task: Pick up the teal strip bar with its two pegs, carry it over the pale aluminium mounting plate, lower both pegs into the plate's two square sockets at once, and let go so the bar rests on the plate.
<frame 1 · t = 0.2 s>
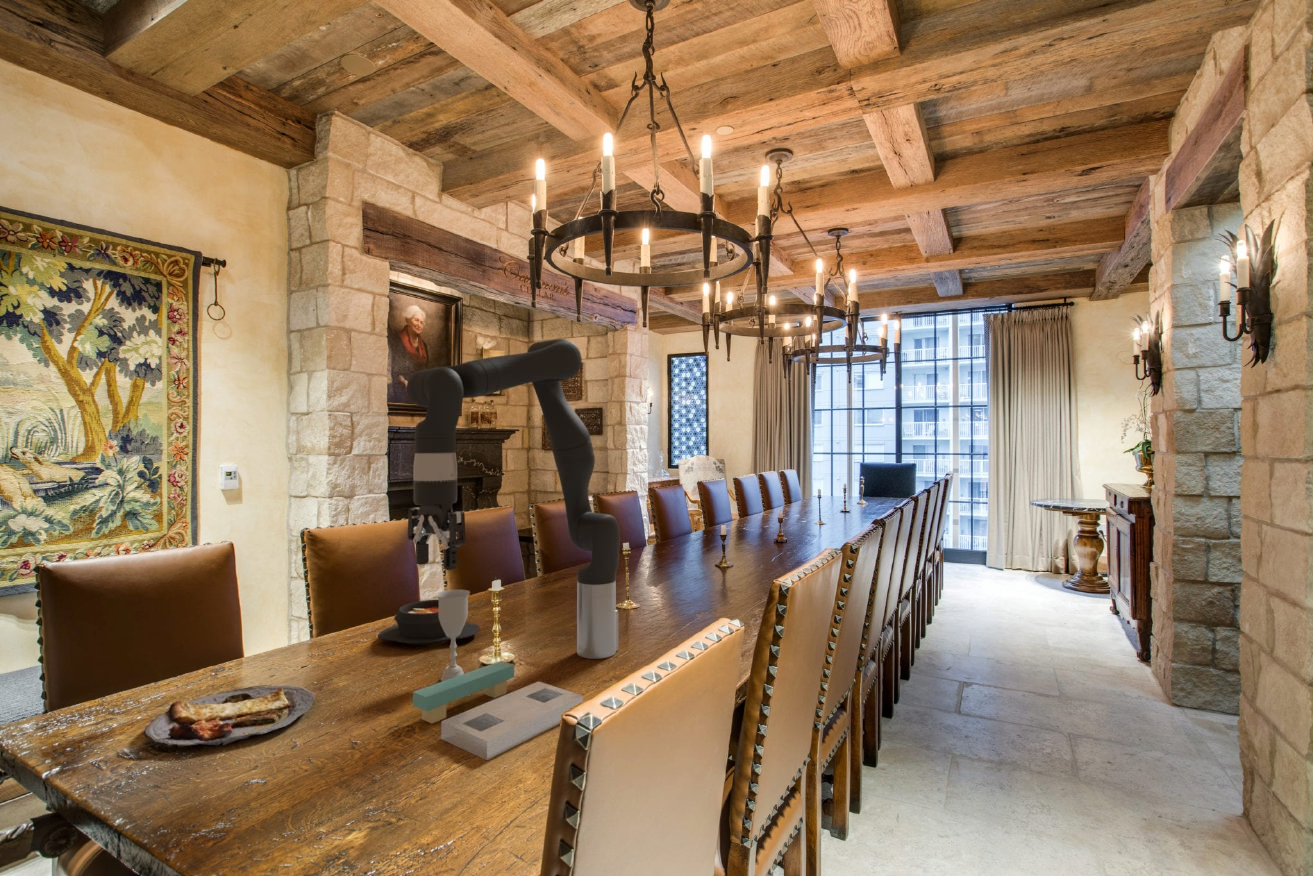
hand: (435, 566, 113), 28 cm above the table, tool pointing down, fingers open, 8 cm apart
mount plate: (515, 724, 110), on the table
casserole: (429, 639, 160), on the table
chalice: (453, 679, 133), on the table
strip bar: (466, 705, 119), on the table
food plate: (234, 724, 112), on the table
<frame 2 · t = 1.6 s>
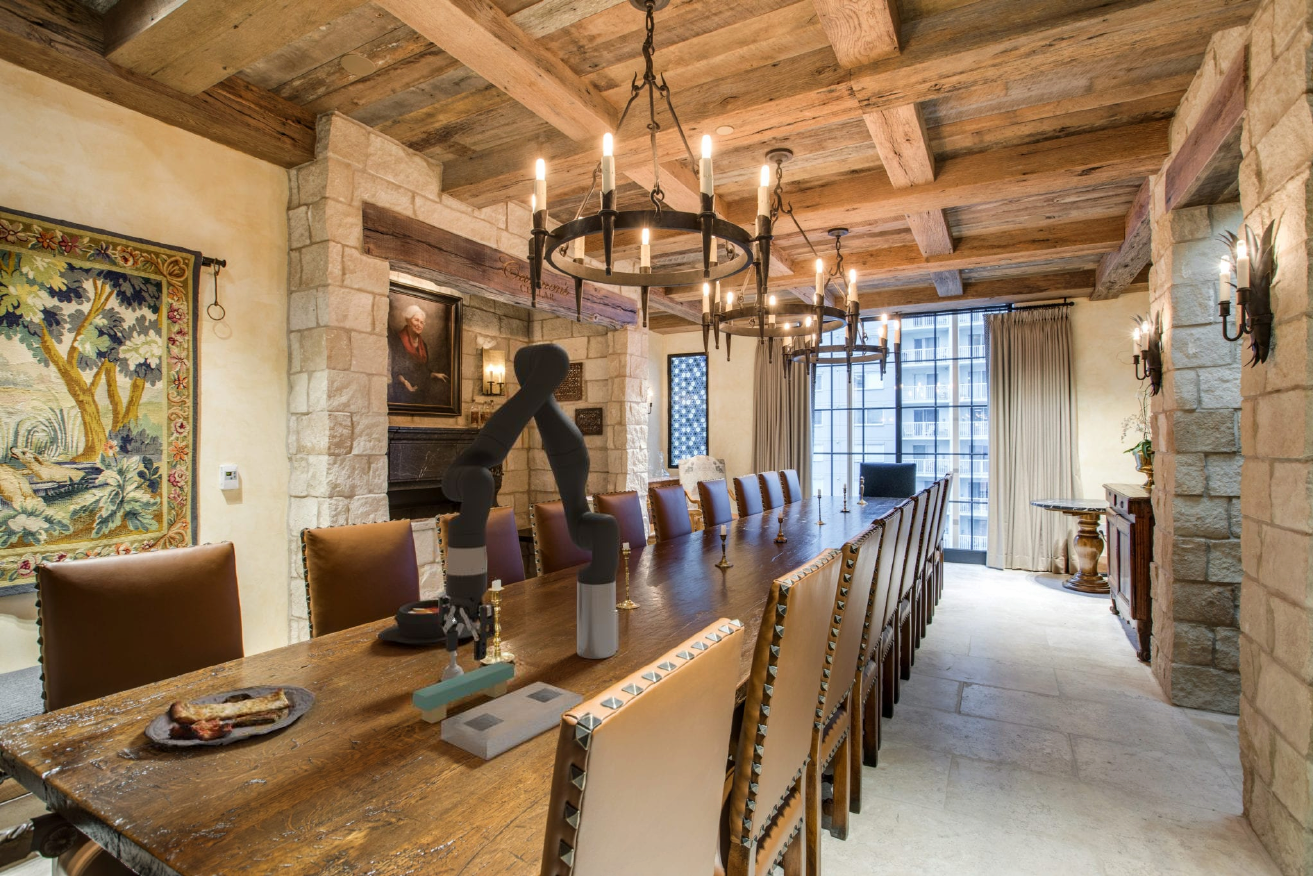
hand: (465, 655, 119), 10 cm above the table, tool pointing down, fingers open, 8 cm apart
nothing on the table moved.
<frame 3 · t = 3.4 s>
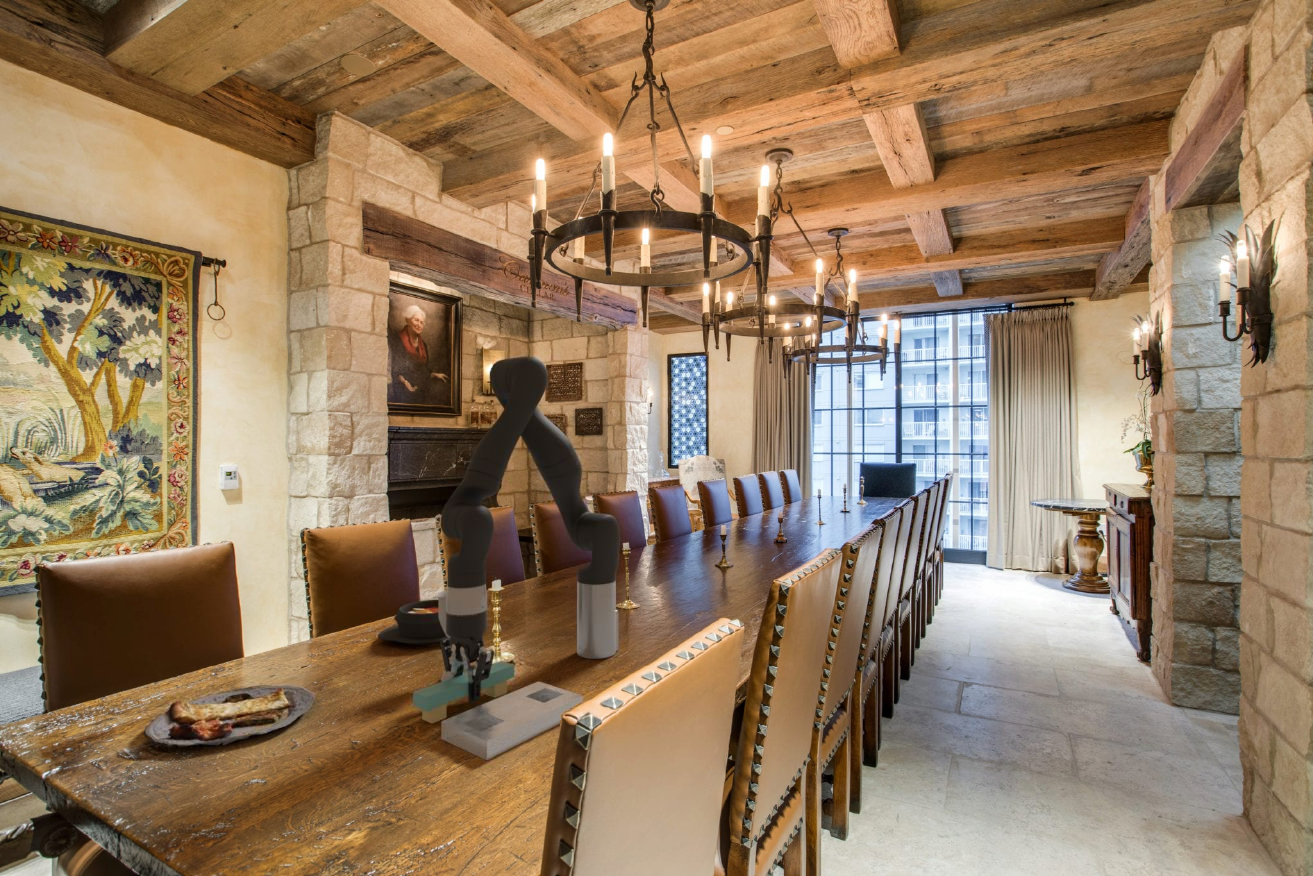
hand: (466, 697, 119), 1 cm above the table, tool pointing down, fingers closed on strip bar, 4 cm apart
strip bar: (466, 705, 119), on the table, touching gripper
everything else where it was.
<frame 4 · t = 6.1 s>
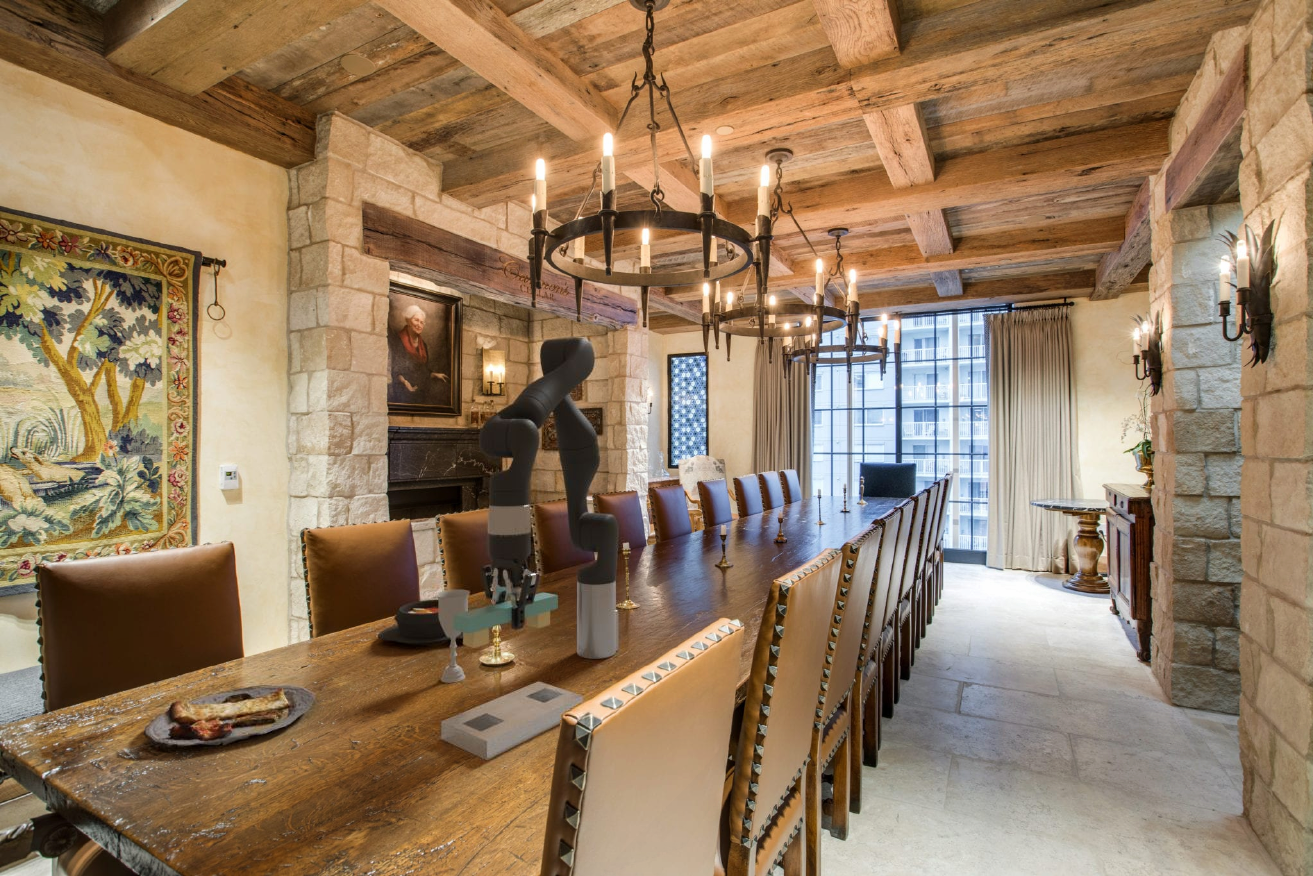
hand: (509, 625, 111), 17 cm above the table, tool pointing down, fingers closed on strip bar, 4 cm apart
strip bar: (508, 634, 111), point 16 cm above the table, touching gripper
everything else where it was.
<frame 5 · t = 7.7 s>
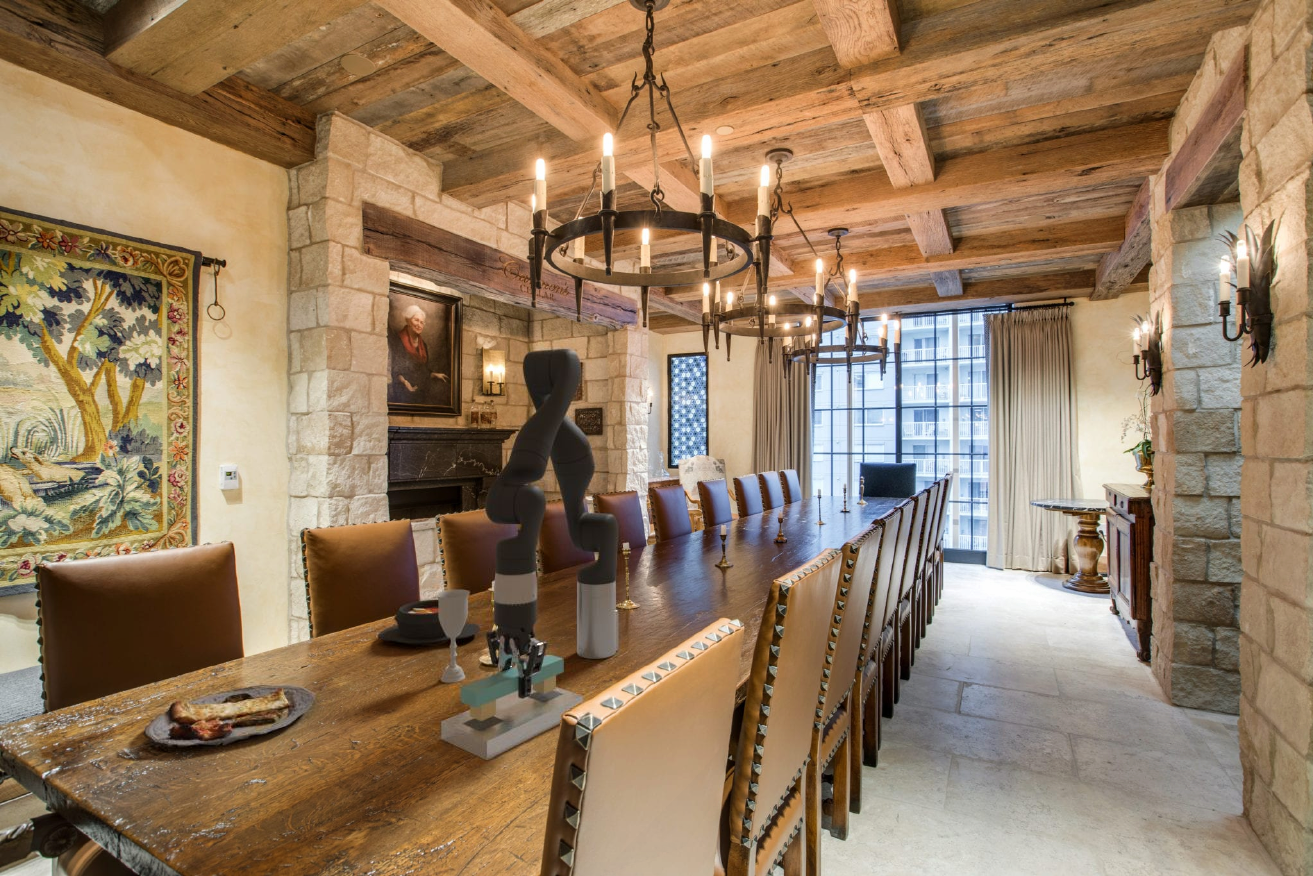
hand: (515, 693, 110), 6 cm above the table, tool pointing down, fingers closed on strip bar, 4 cm apart
strip bar: (515, 701, 110), point 4 cm above the table, touching gripper
everything else where it was.
when the fingers open (3 cm above the table, at t = 8.9 s): strip bar drops 1 cm, resting on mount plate.
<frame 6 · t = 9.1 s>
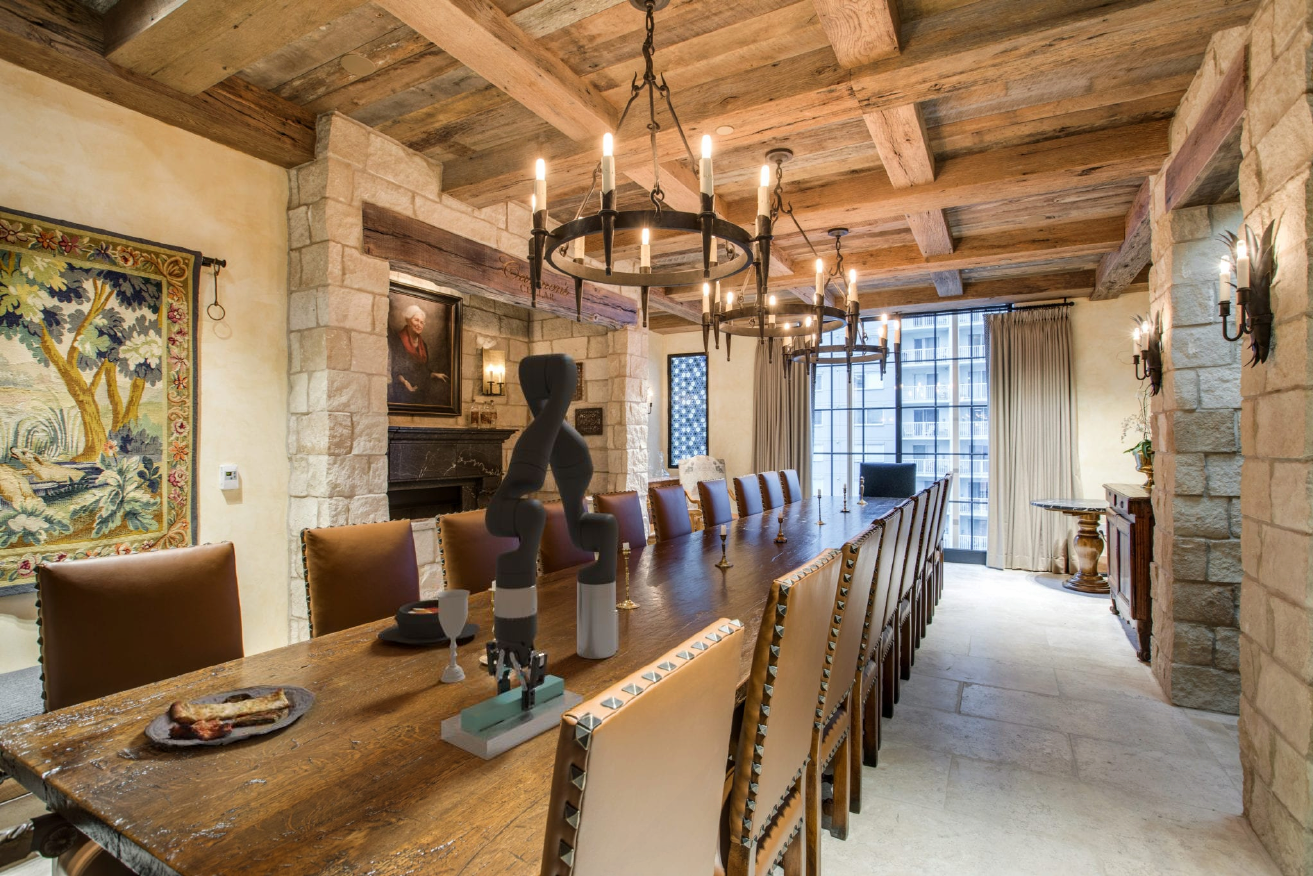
hand: (515, 705, 110), 3 cm above the table, tool pointing down, fingers open, 5 cm apart
strip bar: (515, 723, 110), resting on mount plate
everything else where it was.
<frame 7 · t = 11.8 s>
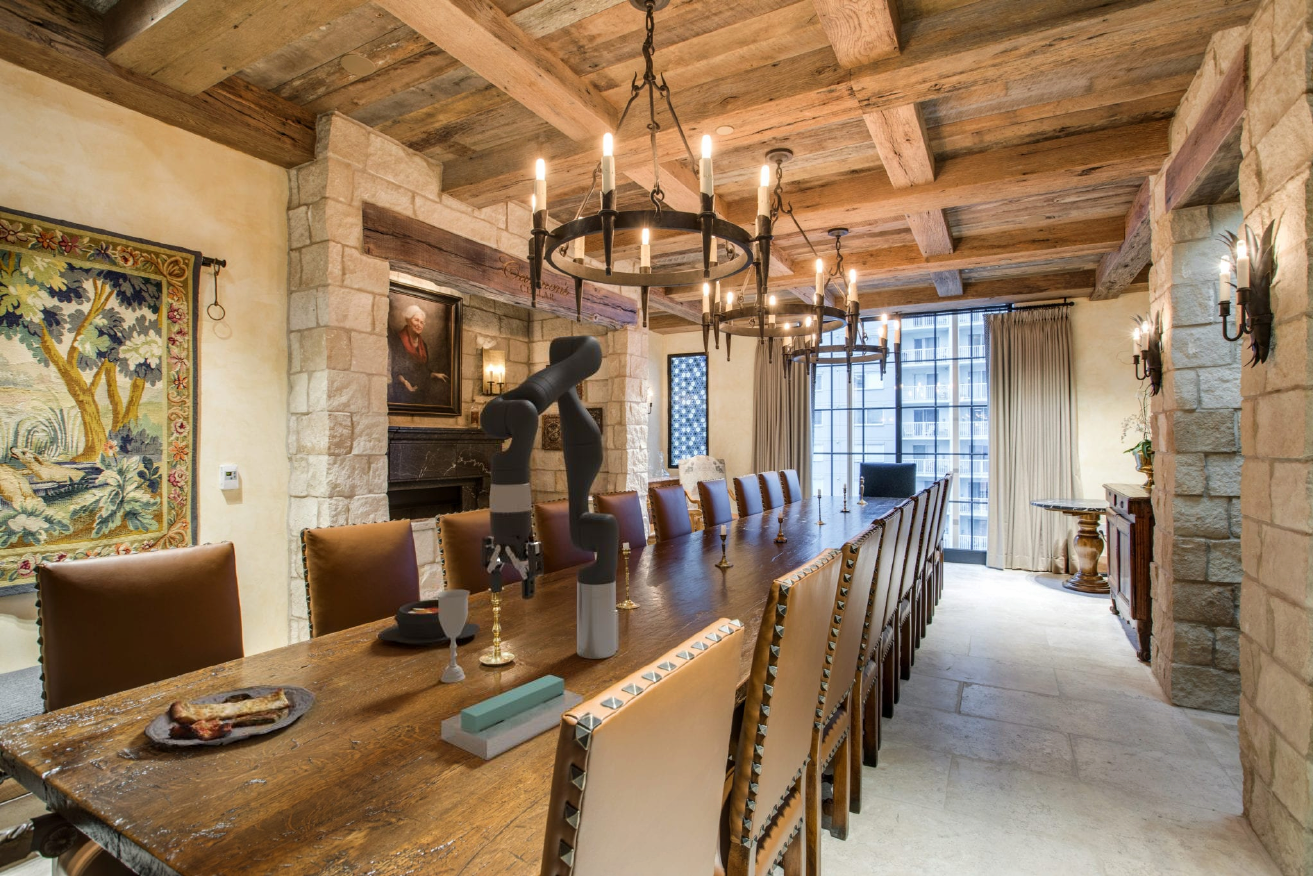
hand: (511, 595, 115), 22 cm above the table, tool pointing down, fingers open, 8 cm apart
nothing on the table moved.
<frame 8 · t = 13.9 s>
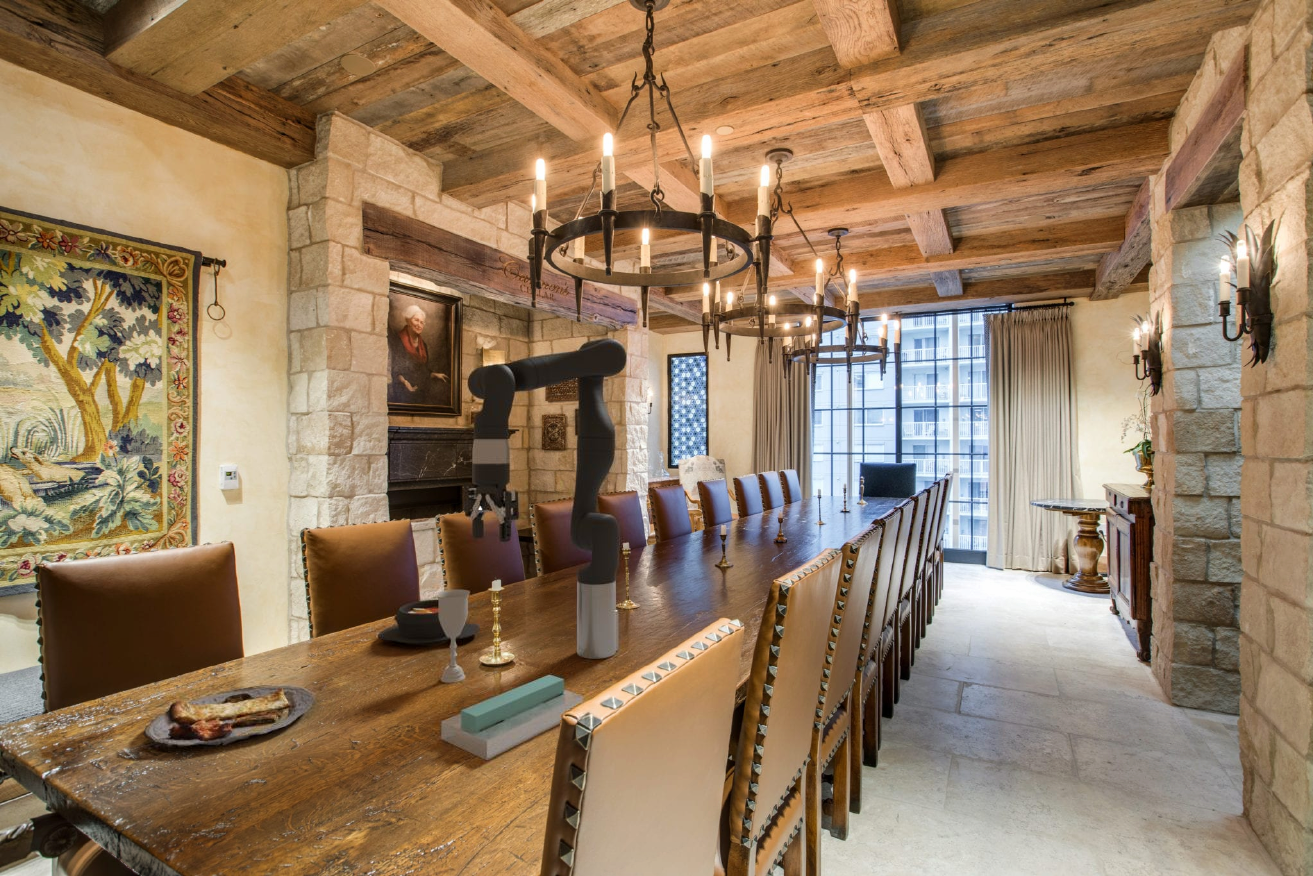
hand: (491, 539, 129), 30 cm above the table, tool pointing down, fingers open, 8 cm apart
nothing on the table moved.
at the end: strip bar 0.0 cm off-centre on the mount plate, point 0.2 cm above the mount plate's base; strip bar tilted 0°; the gripper is holding nothing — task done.
